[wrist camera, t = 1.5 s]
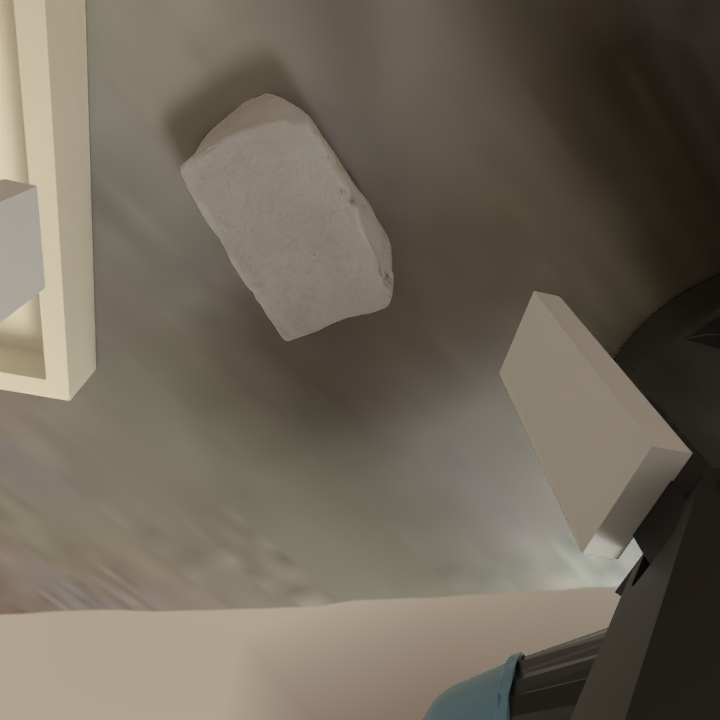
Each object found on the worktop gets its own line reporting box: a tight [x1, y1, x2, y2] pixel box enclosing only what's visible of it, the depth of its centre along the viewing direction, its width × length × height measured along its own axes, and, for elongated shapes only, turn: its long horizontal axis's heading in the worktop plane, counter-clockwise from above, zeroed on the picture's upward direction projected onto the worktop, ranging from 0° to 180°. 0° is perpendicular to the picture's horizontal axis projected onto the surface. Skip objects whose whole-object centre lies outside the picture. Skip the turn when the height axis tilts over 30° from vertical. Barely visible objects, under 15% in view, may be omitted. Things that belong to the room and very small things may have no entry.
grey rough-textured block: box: [180, 93, 394, 341], centre depth 22 cm, size 10×6×6 cm, turn 22°
